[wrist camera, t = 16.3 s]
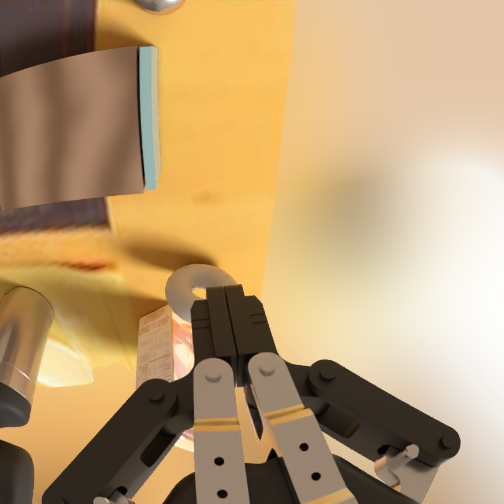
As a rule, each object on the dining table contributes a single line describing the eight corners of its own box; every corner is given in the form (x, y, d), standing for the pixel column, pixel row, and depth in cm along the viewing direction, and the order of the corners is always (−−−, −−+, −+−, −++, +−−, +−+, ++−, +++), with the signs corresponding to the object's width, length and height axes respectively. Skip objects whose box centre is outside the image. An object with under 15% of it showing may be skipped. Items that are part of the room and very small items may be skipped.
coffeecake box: (222, 347, 54) (240, 446, 39) (190, 360, 55) (200, 456, 40) (173, 300, 45) (178, 420, 30) (137, 317, 46) (133, 431, 31)
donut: (164, 274, 42) (163, 329, 34) (167, 254, 40) (165, 309, 32) (232, 281, 45) (244, 334, 37) (238, 262, 43) (252, 315, 36)
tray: (31, 183, 30) (10, 206, 25) (16, 76, 22) (-12, 84, 17) (161, 167, 33) (156, 189, 28) (158, 48, 25) (151, 46, 20)
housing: (24, 185, 30) (2, 210, 25) (8, 77, 21) (-22, 86, 16) (150, 169, 33) (143, 193, 28) (146, 47, 25) (136, 45, 20)
